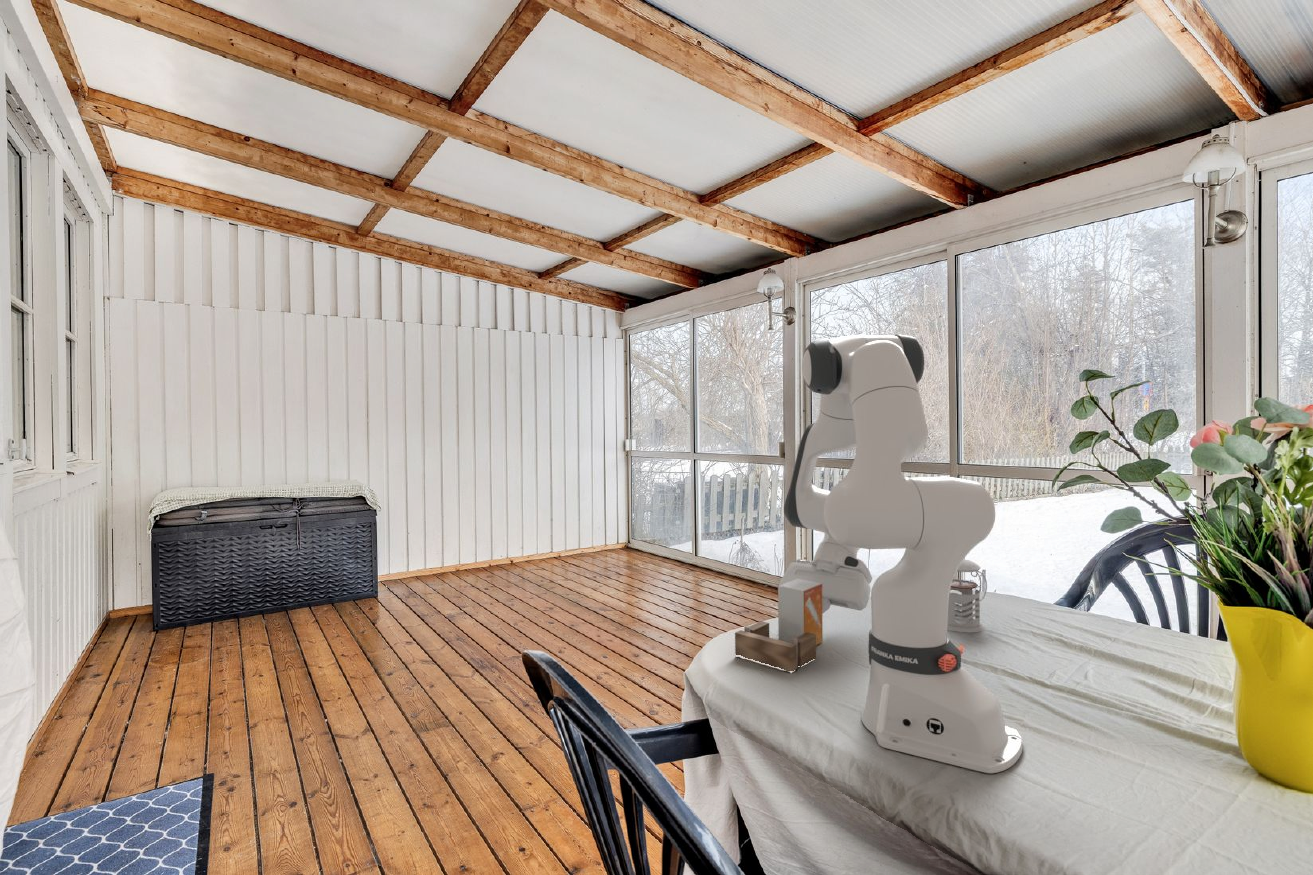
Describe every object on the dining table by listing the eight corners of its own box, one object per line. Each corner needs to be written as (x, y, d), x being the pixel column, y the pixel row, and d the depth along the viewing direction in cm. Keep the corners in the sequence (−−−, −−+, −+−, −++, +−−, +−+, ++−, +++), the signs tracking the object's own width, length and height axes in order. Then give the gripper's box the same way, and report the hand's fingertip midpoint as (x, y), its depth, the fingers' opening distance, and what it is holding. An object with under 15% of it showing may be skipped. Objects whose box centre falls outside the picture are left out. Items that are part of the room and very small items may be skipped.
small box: (804, 653, 131) (803, 590, 130) (777, 646, 135) (776, 585, 135) (823, 642, 137) (823, 582, 136) (797, 636, 141) (796, 577, 141)
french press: (927, 621, 150) (927, 515, 149) (967, 615, 153) (967, 511, 152) (959, 634, 140) (958, 521, 139) (1001, 628, 144) (1001, 518, 143)
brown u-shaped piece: (816, 658, 128) (815, 631, 128) (791, 673, 121) (790, 644, 121) (761, 644, 137) (761, 618, 137) (735, 656, 130) (734, 629, 130)
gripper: (787, 550, 151) (765, 600, 145) (870, 563, 137) (850, 619, 131) (797, 565, 155) (776, 615, 148) (879, 579, 141) (860, 634, 134)
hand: (811, 617), depth 139 cm, fingers closed, pressing on small box
